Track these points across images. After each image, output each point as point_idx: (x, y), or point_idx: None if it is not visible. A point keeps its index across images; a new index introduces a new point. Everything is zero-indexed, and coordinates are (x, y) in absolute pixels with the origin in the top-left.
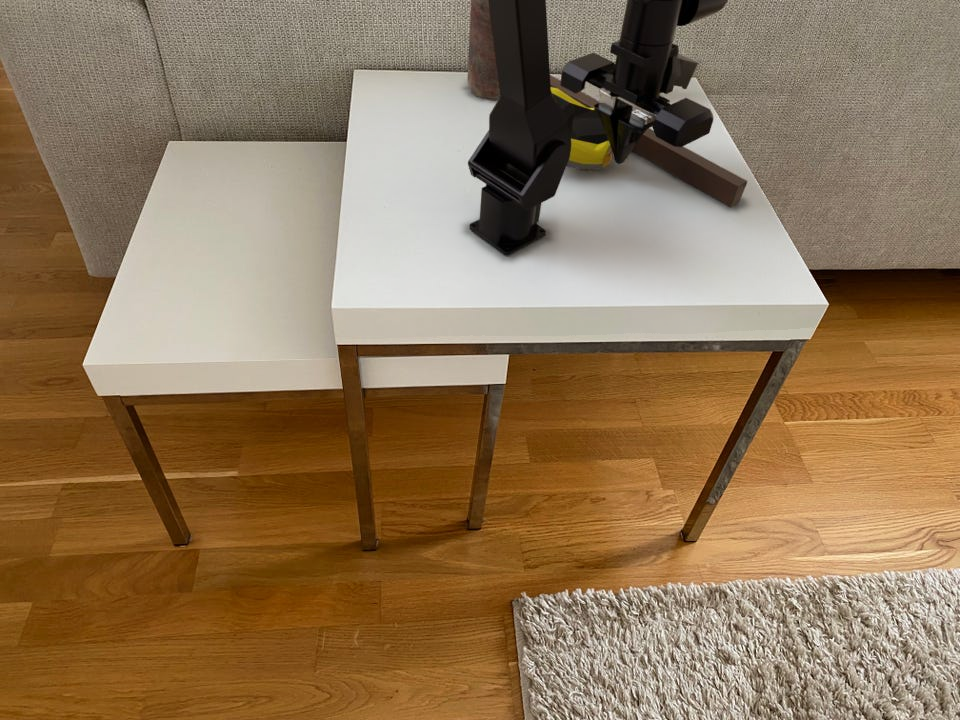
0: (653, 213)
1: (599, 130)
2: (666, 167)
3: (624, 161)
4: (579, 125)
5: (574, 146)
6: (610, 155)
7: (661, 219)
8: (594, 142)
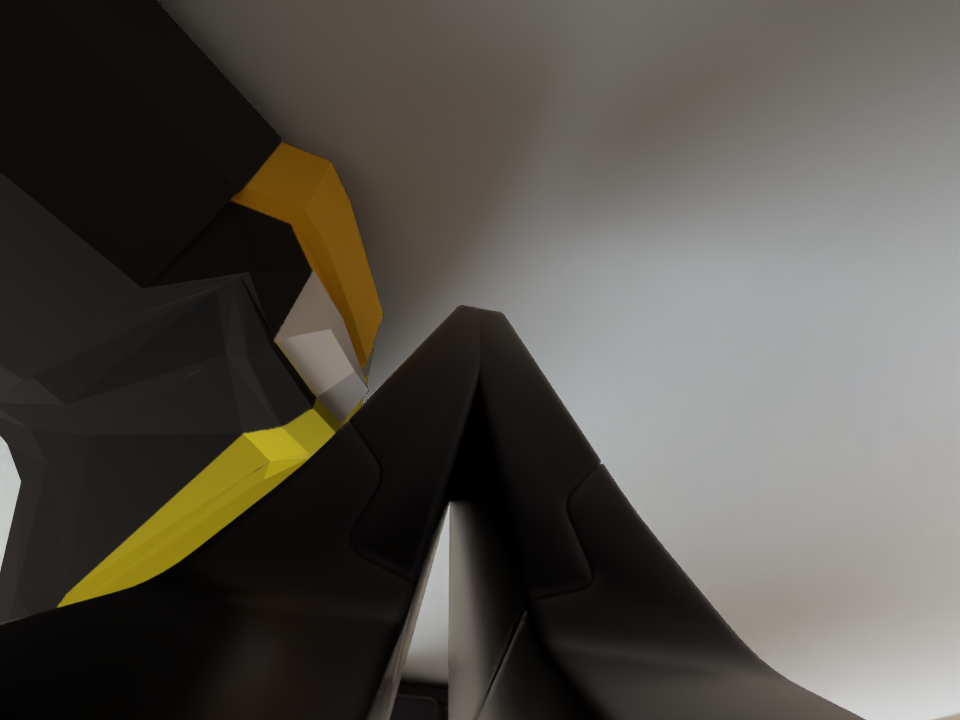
0: (837, 421)
1: (30, 253)
2: None
3: (501, 313)
4: None
5: None
6: (350, 289)
7: (894, 436)
8: (148, 319)
